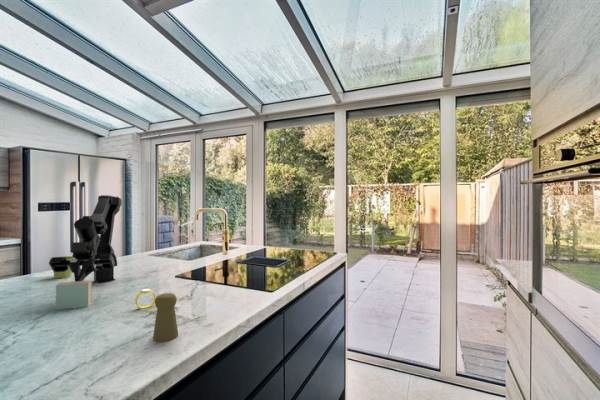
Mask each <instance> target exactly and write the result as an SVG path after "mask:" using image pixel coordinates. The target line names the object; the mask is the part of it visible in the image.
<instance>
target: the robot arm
mask: <svg viewBox="0 0 600 400" xmlns="http://www.w3.org/2000/svg"><path fill="white" fill-rule="evenodd" d="M122 203H123V201H122V198H120V197H119V196H113V195H110V194H109V195H107V194H106V195H105V194H104V195H103V194H100V195H98V198H97V203H96V205H95V207H94V210H93V211H92V214H91V215H83V216H82V218H79V219H78V220H77V219H76V221H74V223H73V226H74V229H75V232H76V234H77V237H78V238H79V239H81V240H80V241H79V242H77V241H76V242H71V245H70V246H71V247H70V253H72V255H71V256H73V258H75V259H70V260H69V261H67V260H66V258H65V257H64V256H53V257H50V259H49V262H48V265H49V266H50V268H51V270H52V271H54V272H65V271H66V270H68V267H69V268H70V270H71V272H72V273H71V274H73V276H74V282H76V281H85V279H86V278H87V277H88V276H89V275H90V274H92V273H93V281H94V282H96V283H97V284H100V283H107V282H112V281H115V280H116V278H114V276H115V275H114V274H115V273H114V272H115V271H114V268H115V267H118V259H117V256H116V254H115V250H114V248H113V246H112V240H113V232H114V225H115V224H114V223H115V216H116V215H117V214H118V213H119V212H120V208H121V207H122ZM54 272H53V273H54Z"/></svg>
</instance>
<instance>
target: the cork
mask: <svg viewBox="0 0 600 400" xmlns="http://www.w3.org/2000/svg"><path fill="white" fill-rule="evenodd" d="M177 298H178V297H177V295H175V293H171V292H165V293H161V294H158V295H157V296H156V299H155V303H154V306H155V308H156V315H155V321H154V329H153V335H152V339H153V341H154V342H160V343H162V342H163V343H164V342H169V341H172V340H174V339H177V338H178V336H179V331H178V323H177V315H176V309H175V306H176V304H177V300H178V299H177Z"/></svg>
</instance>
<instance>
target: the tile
mask: <svg viewBox="0 0 600 400" xmlns="http://www.w3.org/2000/svg"><path fill="white" fill-rule="evenodd" d="M91 305H92V280H83V281H76V282H75V281H62V282H59V283H57V284H55V310H66V308H68V309H78V308H88V307H90V306H91Z"/></svg>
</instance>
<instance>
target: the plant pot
mask: <svg viewBox="0 0 600 400" xmlns="http://www.w3.org/2000/svg"><path fill="white" fill-rule="evenodd" d="M63 257H65V258H66V260H67V261H69V260H70V259H75V258H73V256H72V255H68V256H67V255H66V256H64V255H63ZM52 271H53V270H52ZM72 274H73V273H72V272H71V270H70V268H69V267H68V270H66V271H65V272H54V271H53V276H54V277H53V278H55V279H61V278H62V279H66V278H70V277H71V276H72ZM65 277H66V278H65Z"/></svg>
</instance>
